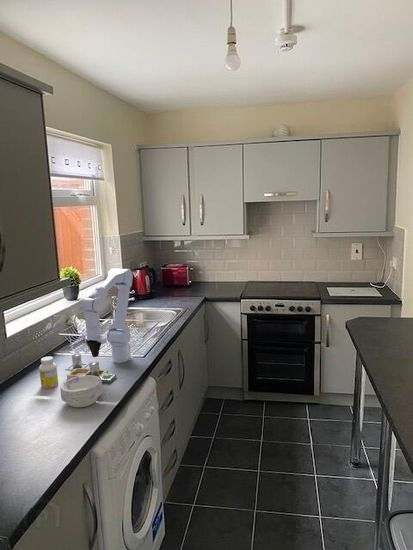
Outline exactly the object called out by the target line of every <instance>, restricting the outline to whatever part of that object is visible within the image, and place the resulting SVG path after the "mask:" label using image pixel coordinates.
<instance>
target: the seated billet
mask: <svg viewBox="0 0 413 550" xmlns="http://www.w3.org/2000/svg"><path fill="white" fill-rule="evenodd" d="M88 366H89V368H88V369H90V375H92V376H97V377H98V376H99V375H100V370H101V369H100V362H99V361H91V362H89V365H88Z"/></svg>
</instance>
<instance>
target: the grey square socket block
mask: <svg viewBox="0 0 413 550" xmlns="http://www.w3.org/2000/svg"><path fill="white" fill-rule="evenodd" d="M105 374H106V373H104V374H103V375H105ZM109 374H110V378H109V379H108V378H104V376H103V375H102V376H101V377H100V378H101V380H102V384H111V383H112V382H113V381H115V379H117V373H109Z"/></svg>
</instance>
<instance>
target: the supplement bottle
mask: <svg viewBox="0 0 413 550" xmlns="http://www.w3.org/2000/svg"><path fill="white" fill-rule="evenodd" d="M40 363H41V364H40V365H39V368H38V370H39V379H40V387H41V389H43V390H51V389H55V388H57V387H58V386H59V378H58V367H57V364H56V362H55V361H54V357H53V356H44V357H42V358H40Z"/></svg>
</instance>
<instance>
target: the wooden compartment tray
mask: <svg viewBox="0 0 413 550" xmlns="http://www.w3.org/2000/svg"><path fill="white" fill-rule="evenodd" d="M99 370H100V375H99V376H98V377H99V378H100V377H101V376H102V375H103V374H104V373H106V374H109V372H108V369H99ZM85 375H90V368H83V367H81V368H76V369H75V370H71V371H70V372H69V373H68V374H67V375H66V379H67V380H69V379H71V378H74V377H78V376H85Z"/></svg>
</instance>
